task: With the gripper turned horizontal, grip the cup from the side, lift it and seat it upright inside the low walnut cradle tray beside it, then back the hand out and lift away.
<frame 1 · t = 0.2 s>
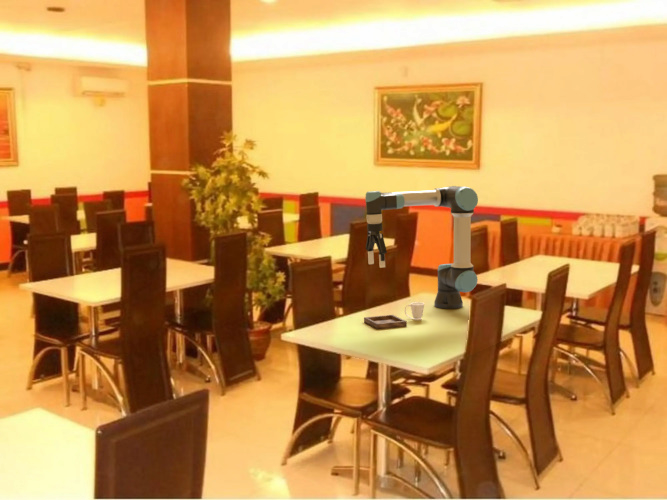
hand: (376, 265, 350), 27 cm above the table, tool pointing down, fingers open, 13 cm apart
cup: (414, 319, 354), on the table
cradle tray: (385, 324, 343), on the table
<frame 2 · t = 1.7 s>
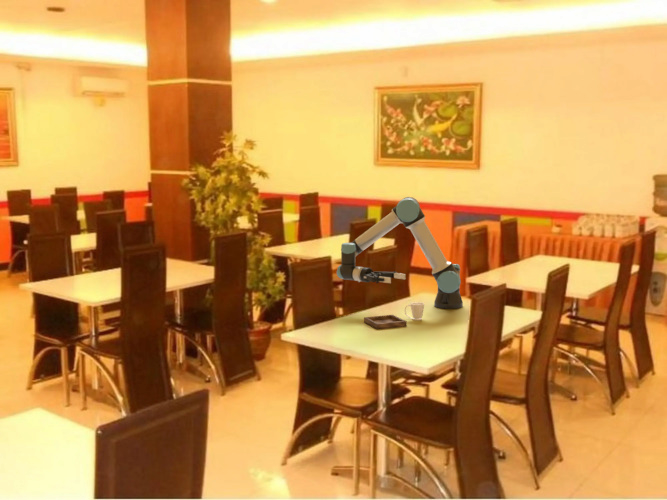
hand: (397, 278, 357), 20 cm above the table, tool horizontal, fingers open, 13 cm apart
nothing on the table moved.
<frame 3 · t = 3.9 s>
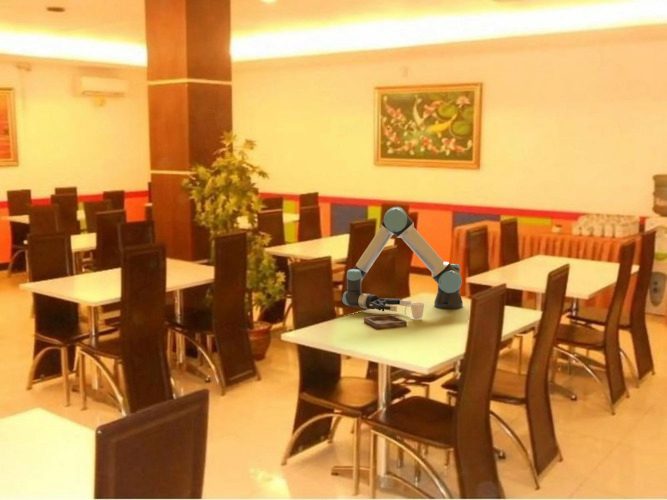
hand: (403, 306, 356), 6 cm above the table, tool horizontal, fingers open, 13 cm apart
nothing on the table moved.
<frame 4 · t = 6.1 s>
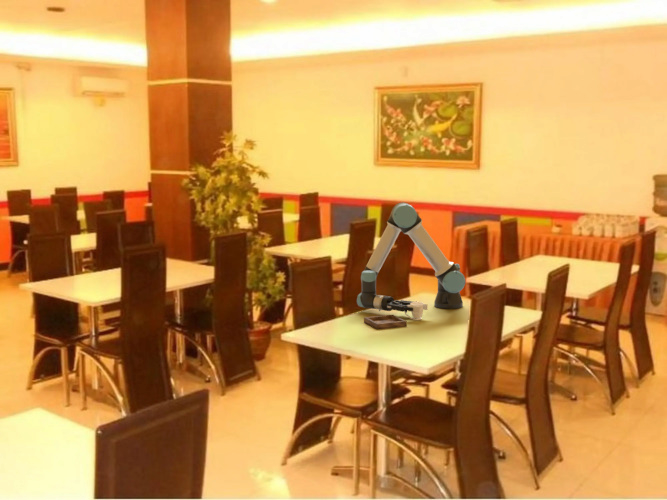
hand: (423, 308, 350), 6 cm above the table, tool horizontal, fingers closed on cup, 7 cm apart
cup: (414, 319, 354), on the table, touching gripper
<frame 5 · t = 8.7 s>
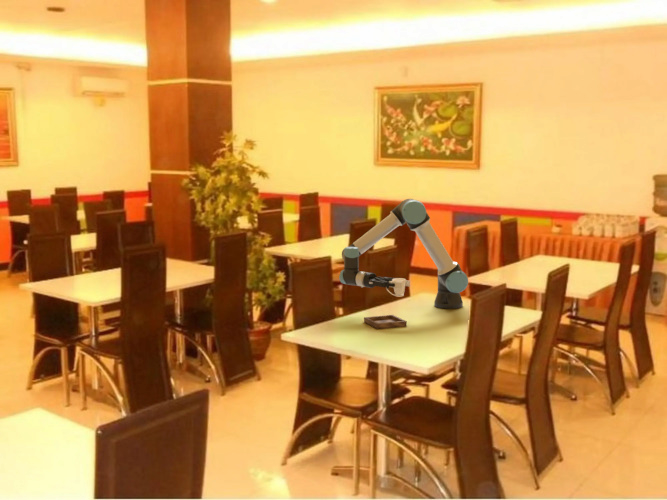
hand: (405, 284, 343), 19 cm above the table, tool horizontal, fingers closed on cup, 7 cm apart
cup: (396, 295, 347), point 13 cm above the table, touching gripper
when the fingers open (8 cm above the table, at t = 11.4 s): cup drops 2 cm, resting on cradle tray.
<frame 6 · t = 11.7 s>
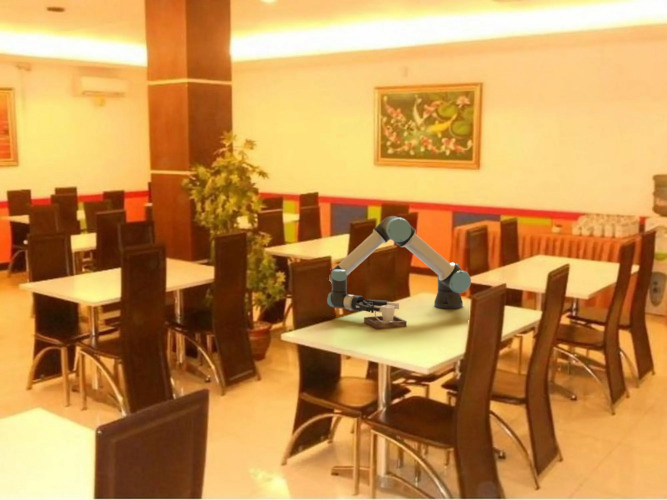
hand: (392, 308, 340), 8 cm above the table, tool horizontal, fingers open, 10 cm apart
cup: (385, 323, 343), point 1 cm above the table, touching cradle tray
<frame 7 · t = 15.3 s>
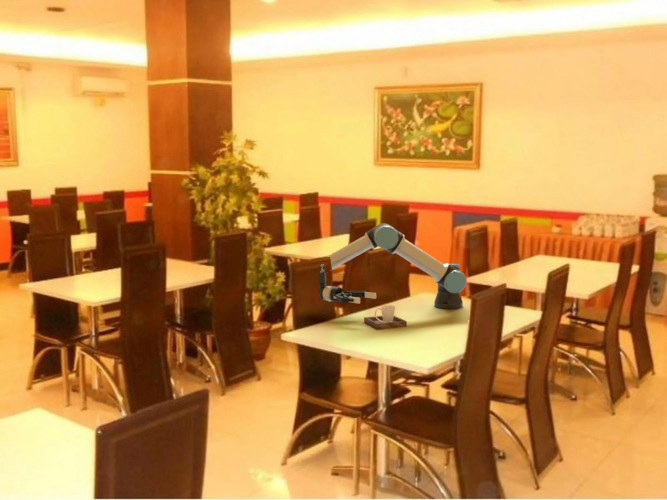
hand: (368, 298, 348), 12 cm above the table, tool horizontal, fingers open, 13 cm apart
nothing on the table moved.
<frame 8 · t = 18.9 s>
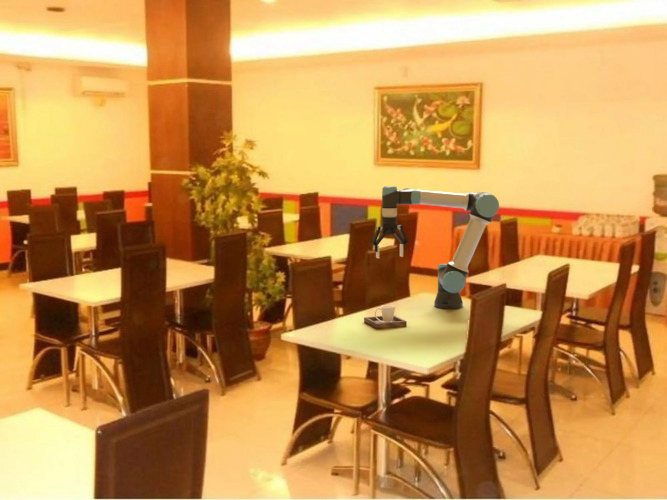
hand: (389, 257, 367), 29 cm above the table, tool pointing down, fingers open, 13 cm apart
nothing on the table moved.
at the end: cup inside the target area on the cradle tray (0.1 cm from its centre), point 0.6 cm above the cradle tray's base; cup tilted 0°; the gripper is holding nothing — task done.
